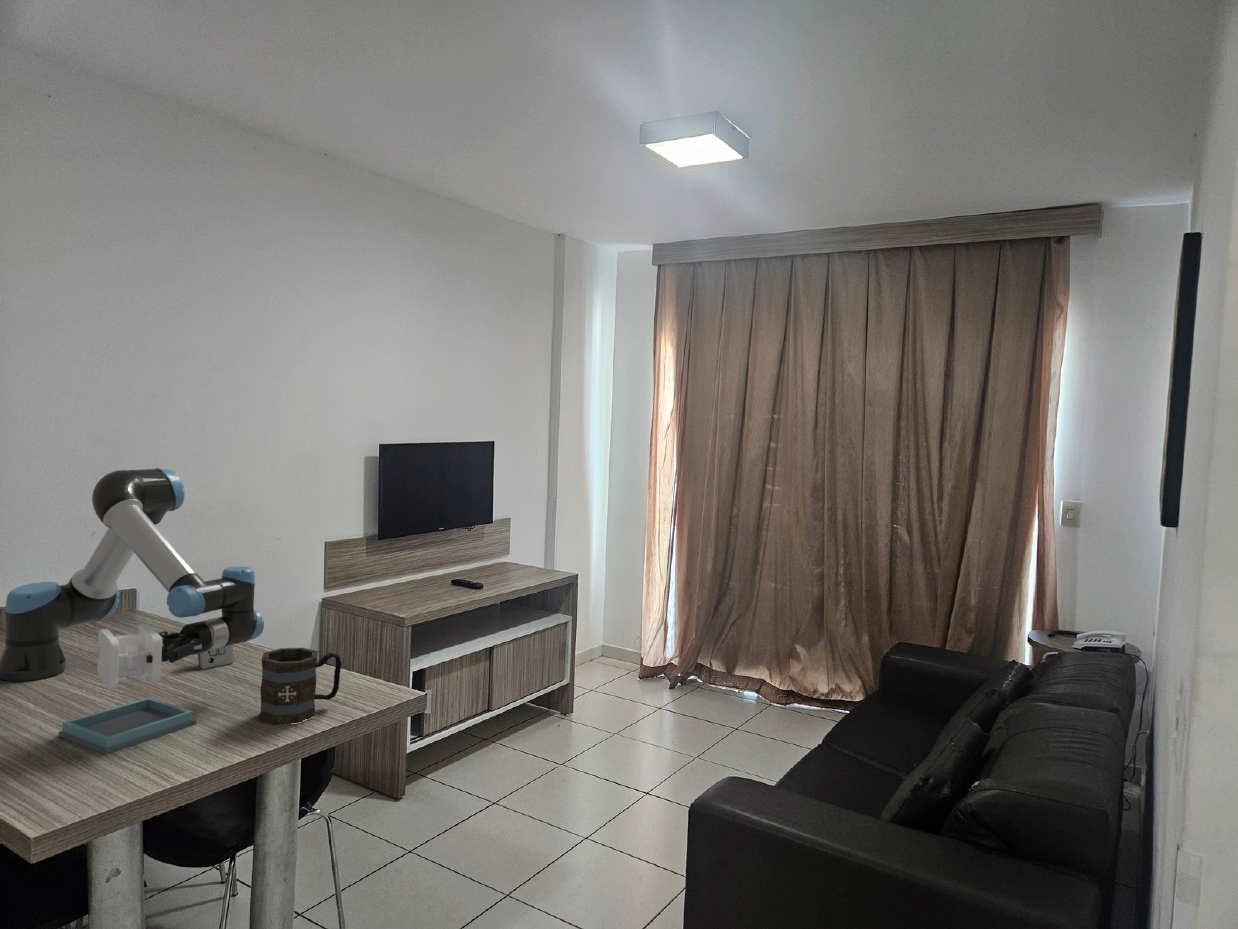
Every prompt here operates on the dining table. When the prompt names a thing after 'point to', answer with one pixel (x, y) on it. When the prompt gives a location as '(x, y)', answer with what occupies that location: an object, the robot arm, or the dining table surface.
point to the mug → (292, 684)
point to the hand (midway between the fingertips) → (114, 657)
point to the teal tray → (126, 725)
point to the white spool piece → (128, 656)
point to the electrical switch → (216, 657)
